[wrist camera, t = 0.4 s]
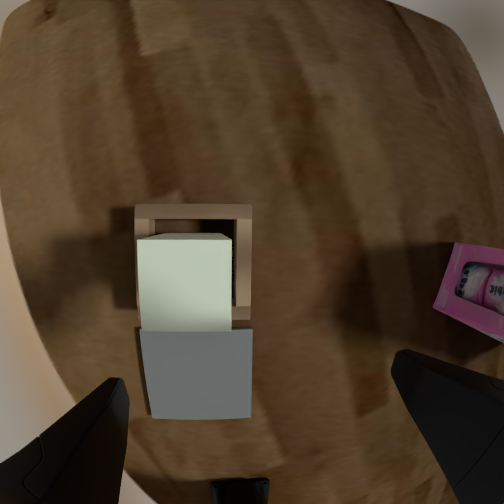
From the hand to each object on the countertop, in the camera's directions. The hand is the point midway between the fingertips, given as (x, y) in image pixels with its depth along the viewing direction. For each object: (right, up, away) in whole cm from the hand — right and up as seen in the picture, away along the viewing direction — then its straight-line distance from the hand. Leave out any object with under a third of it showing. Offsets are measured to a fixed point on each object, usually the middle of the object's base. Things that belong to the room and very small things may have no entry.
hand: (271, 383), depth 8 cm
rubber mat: (-5, -7, +15) cm, 17 cm away
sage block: (-5, +3, +14) cm, 15 cm away
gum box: (+30, -3, +20) cm, 36 cm away
